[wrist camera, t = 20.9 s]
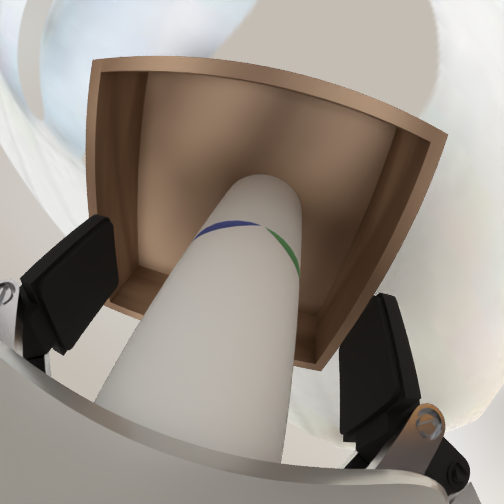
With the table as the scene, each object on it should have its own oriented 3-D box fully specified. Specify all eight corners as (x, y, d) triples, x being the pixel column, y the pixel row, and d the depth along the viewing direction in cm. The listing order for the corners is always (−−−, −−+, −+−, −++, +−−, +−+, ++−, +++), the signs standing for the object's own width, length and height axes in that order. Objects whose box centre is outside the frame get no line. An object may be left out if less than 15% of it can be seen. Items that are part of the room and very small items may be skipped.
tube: (281, 258, 16) (220, 557, 3) (213, 228, 16) (70, 505, 3) (316, 196, 14) (298, 597, 1) (238, 161, 13) (9, 512, 1)
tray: (384, 114, 14) (448, 134, 7) (320, 282, 22) (320, 371, 15) (177, 66, 15) (92, 59, 8) (159, 237, 23) (104, 305, 15)
